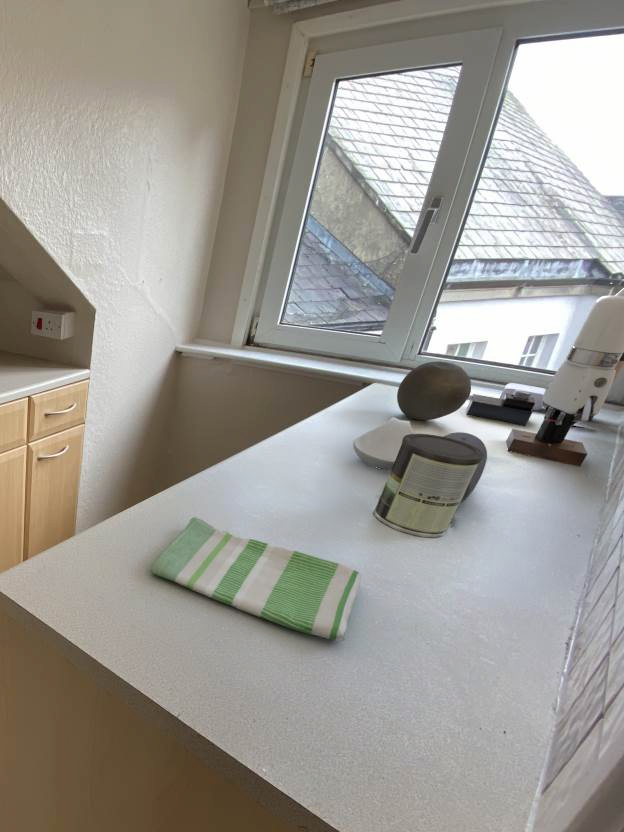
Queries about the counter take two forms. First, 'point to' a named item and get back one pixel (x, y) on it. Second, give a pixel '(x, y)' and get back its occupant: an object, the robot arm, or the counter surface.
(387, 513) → the coffee can
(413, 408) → the dark brown rounded piece
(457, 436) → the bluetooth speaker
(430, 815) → the counter surface
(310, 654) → the counter surface
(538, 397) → the charger
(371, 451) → the spoon rest
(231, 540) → the dish towel
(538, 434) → the browning knob
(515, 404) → the toaster
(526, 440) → the brown wooden block
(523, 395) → the toaster lever
